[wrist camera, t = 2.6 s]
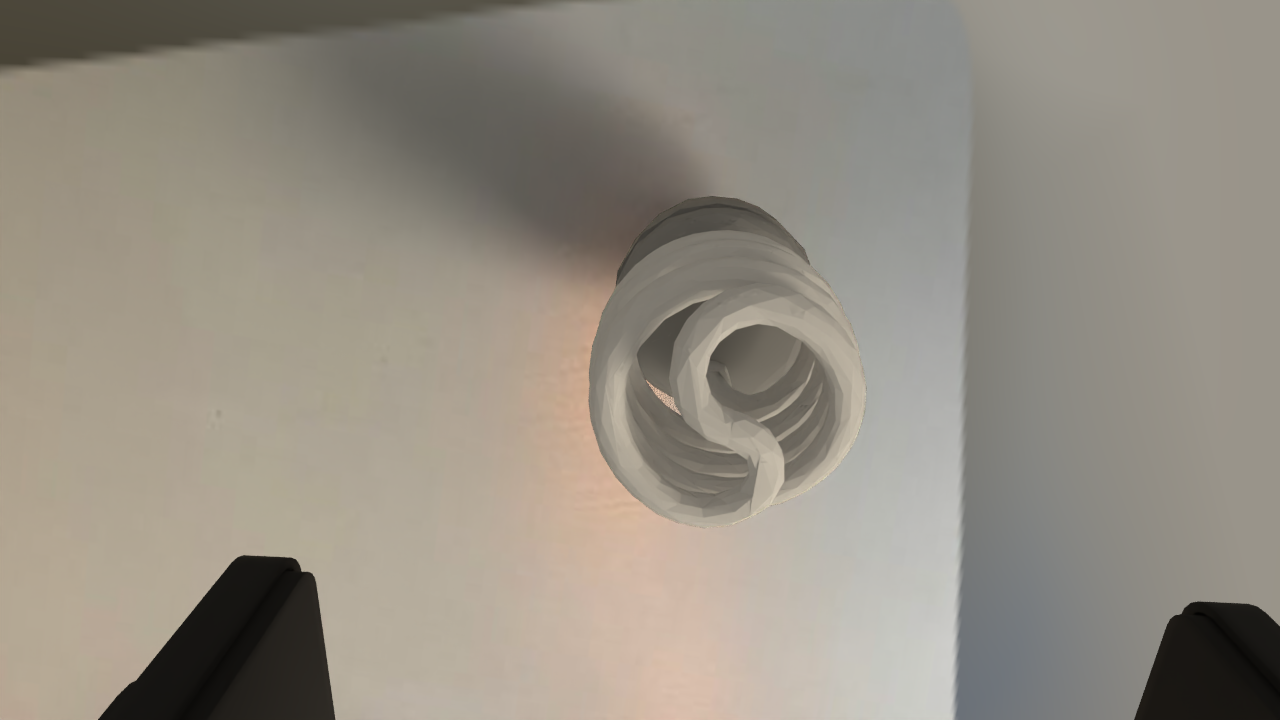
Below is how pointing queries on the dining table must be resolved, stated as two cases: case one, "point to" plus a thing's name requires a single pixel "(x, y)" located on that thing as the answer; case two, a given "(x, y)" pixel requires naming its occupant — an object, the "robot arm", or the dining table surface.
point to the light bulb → (722, 367)
